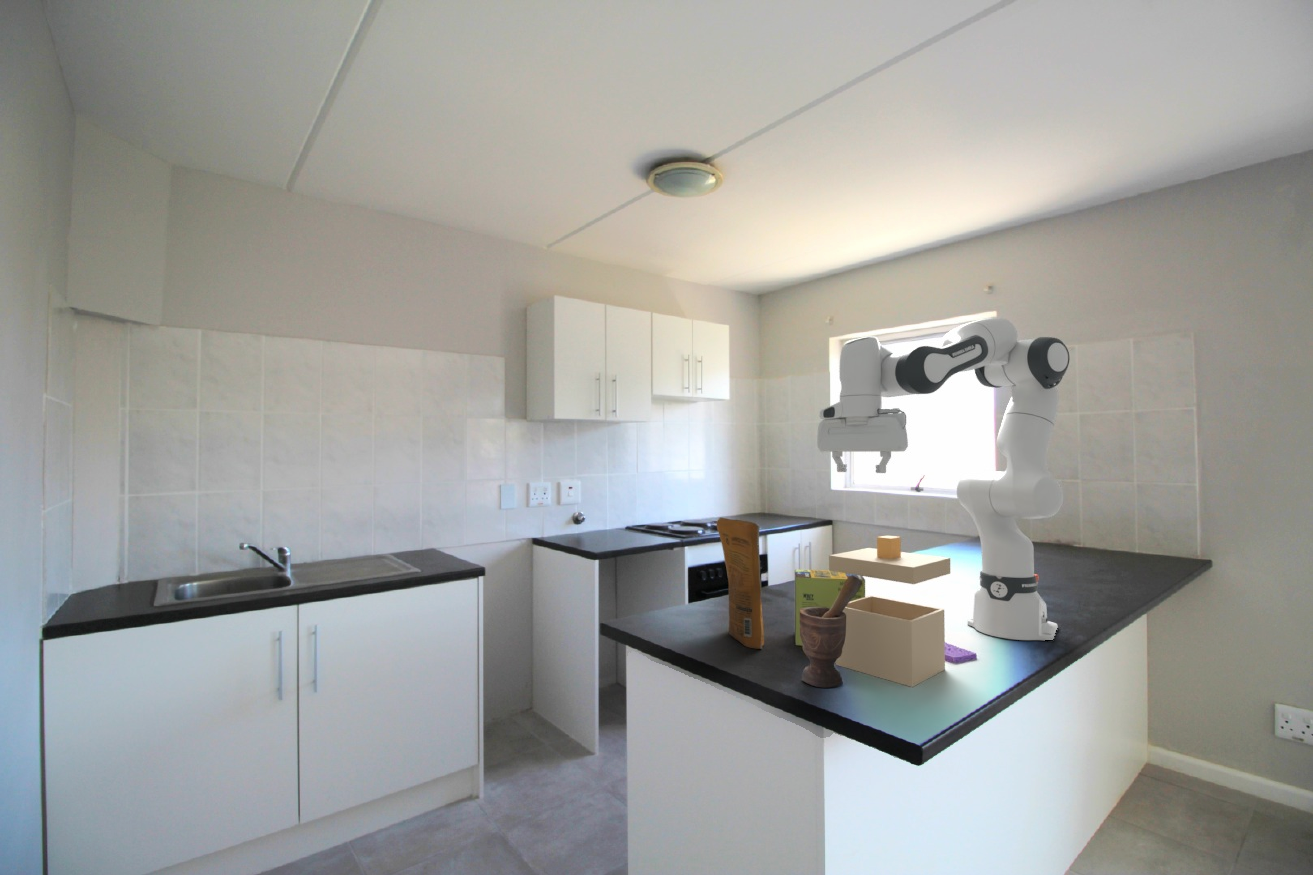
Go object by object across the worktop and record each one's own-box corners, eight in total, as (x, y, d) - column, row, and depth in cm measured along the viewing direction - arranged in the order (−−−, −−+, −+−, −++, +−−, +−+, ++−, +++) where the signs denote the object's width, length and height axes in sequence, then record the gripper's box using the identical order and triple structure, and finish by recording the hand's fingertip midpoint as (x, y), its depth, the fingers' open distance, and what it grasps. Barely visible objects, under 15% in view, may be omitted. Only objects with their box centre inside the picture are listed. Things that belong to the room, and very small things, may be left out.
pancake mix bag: (745, 653, 132) (745, 523, 133) (714, 629, 151) (714, 515, 152) (774, 650, 134) (773, 522, 135) (739, 627, 153) (739, 514, 153)
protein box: (866, 650, 135) (866, 579, 135) (795, 645, 138) (794, 576, 138) (860, 636, 145) (860, 570, 145) (794, 632, 148) (793, 568, 149)
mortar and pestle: (837, 668, 123) (836, 568, 124) (869, 683, 115) (868, 576, 116) (790, 677, 118) (790, 573, 119) (820, 693, 110) (819, 581, 111)
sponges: (930, 644, 141) (930, 636, 141) (978, 661, 129) (977, 652, 129) (907, 648, 138) (906, 639, 138) (953, 665, 126) (953, 656, 126)
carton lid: (868, 561, 136) (868, 529, 137) (950, 573, 123) (949, 538, 123) (829, 570, 126) (828, 535, 126) (913, 584, 113) (913, 545, 113)
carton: (871, 650, 135) (870, 595, 135) (944, 669, 123) (944, 609, 123) (835, 664, 125) (835, 605, 126) (912, 686, 113) (911, 621, 114)
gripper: (913, 408, 130) (913, 473, 129) (828, 413, 145) (829, 471, 145) (898, 406, 126) (899, 473, 125) (813, 411, 141) (813, 471, 141)
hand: (860, 472), depth 135 cm, fingers open, 8 cm apart
